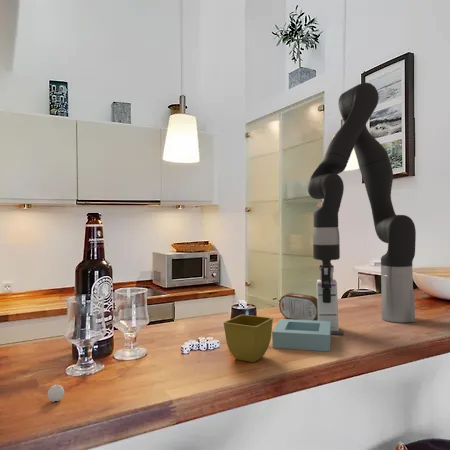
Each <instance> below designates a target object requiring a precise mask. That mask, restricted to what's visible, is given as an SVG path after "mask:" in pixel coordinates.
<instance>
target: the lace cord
mask: <svg viewBox="0 0 450 450" xmlns="http://www.w3.org/2000/svg"><path fill="white" fill-rule="evenodd" d="M331 335H338V336H341V335H342V336H344V335H345V332H344V331H342V330H339V331H331Z"/></svg>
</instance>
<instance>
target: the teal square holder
mask: <svg viewBox="0 0 450 450" xmlns="http://www.w3.org/2000/svg"><path fill="white" fill-rule="evenodd" d="M331 339H332V334H331V321H318V320H317V321H314V320H293V319H287V318H280V319H279V321H277V323H276V325H275V326H274V328H273V329H272V332H271V340H272V343H271V344H272V348H273V349H275V348H276V349H285V350H286V349H288V350H301V351H317V352H331V344H332V343H331V341H332V340H331Z"/></svg>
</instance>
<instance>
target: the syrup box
mask: <svg viewBox="0 0 450 450" xmlns="http://www.w3.org/2000/svg"><path fill="white" fill-rule="evenodd" d="M324 284H329V282H324ZM321 285H322V282H321V280H320V279H316V298H317V310H318V320H317V321H331V331H340V329H339V303H338V302H339V300H338V298H339V297H338V283H337V280H336V279H334V278H333V282H331V287H332V289H331V302H330V303H324V302H323V290H322V287H321Z"/></svg>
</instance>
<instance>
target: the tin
mask: <svg viewBox="0 0 450 450" xmlns="http://www.w3.org/2000/svg"><path fill="white" fill-rule="evenodd" d="M278 301H279V302H278V305H279V306H278V307H279V311H280V313H281V315H282V316H283V317H284V318H285V319H293V320H314V321H318V310H317V297H315V296H314V295H309V294H300V293H295V292H288V293H286V294H284V295H283V296H281V297H280V299H279V300H278Z"/></svg>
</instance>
